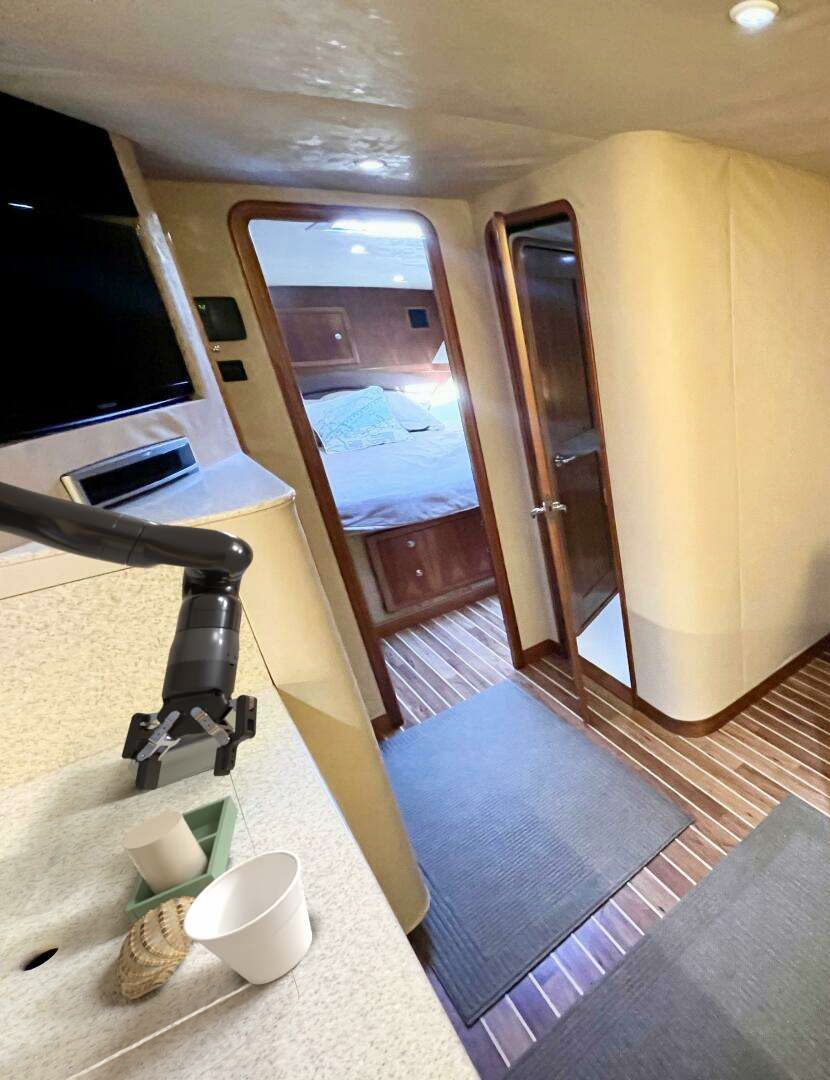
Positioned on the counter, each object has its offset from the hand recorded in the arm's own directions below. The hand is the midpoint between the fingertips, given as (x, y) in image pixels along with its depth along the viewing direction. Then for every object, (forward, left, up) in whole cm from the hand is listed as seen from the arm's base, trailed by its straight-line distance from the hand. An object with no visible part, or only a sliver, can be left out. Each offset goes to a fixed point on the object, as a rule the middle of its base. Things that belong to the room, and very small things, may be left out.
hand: (185, 782), depth 72 cm
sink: (-6, +25, -11) cm, 28 cm away
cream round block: (-2, -6, -11) cm, 13 cm away
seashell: (-2, -17, -11) cm, 20 cm away
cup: (+9, -25, -11) cm, 29 cm away
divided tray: (-2, -3, -11) cm, 12 cm away
